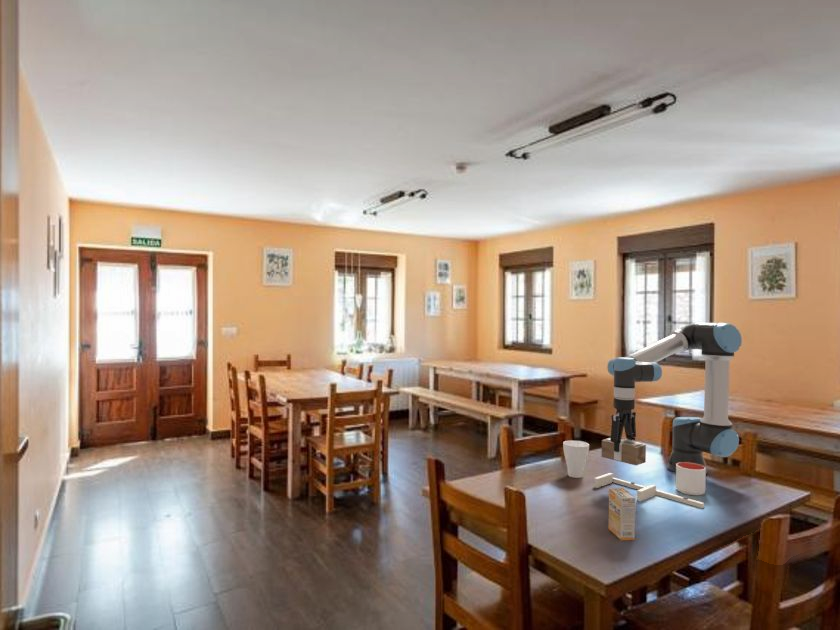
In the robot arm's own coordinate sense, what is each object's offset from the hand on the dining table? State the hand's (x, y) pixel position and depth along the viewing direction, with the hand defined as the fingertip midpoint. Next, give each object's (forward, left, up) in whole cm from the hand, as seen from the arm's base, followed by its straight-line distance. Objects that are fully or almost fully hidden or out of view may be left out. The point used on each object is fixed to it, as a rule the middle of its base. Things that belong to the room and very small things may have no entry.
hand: (623, 458), depth 196 cm
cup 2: (-21, +16, -13) cm, 29 cm away
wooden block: (0, 0, -1) cm, 1 cm away
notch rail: (-3, +8, -13) cm, 15 cm away
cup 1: (-2, -22, -13) cm, 26 cm away
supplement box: (+36, +20, -13) cm, 43 cm away
